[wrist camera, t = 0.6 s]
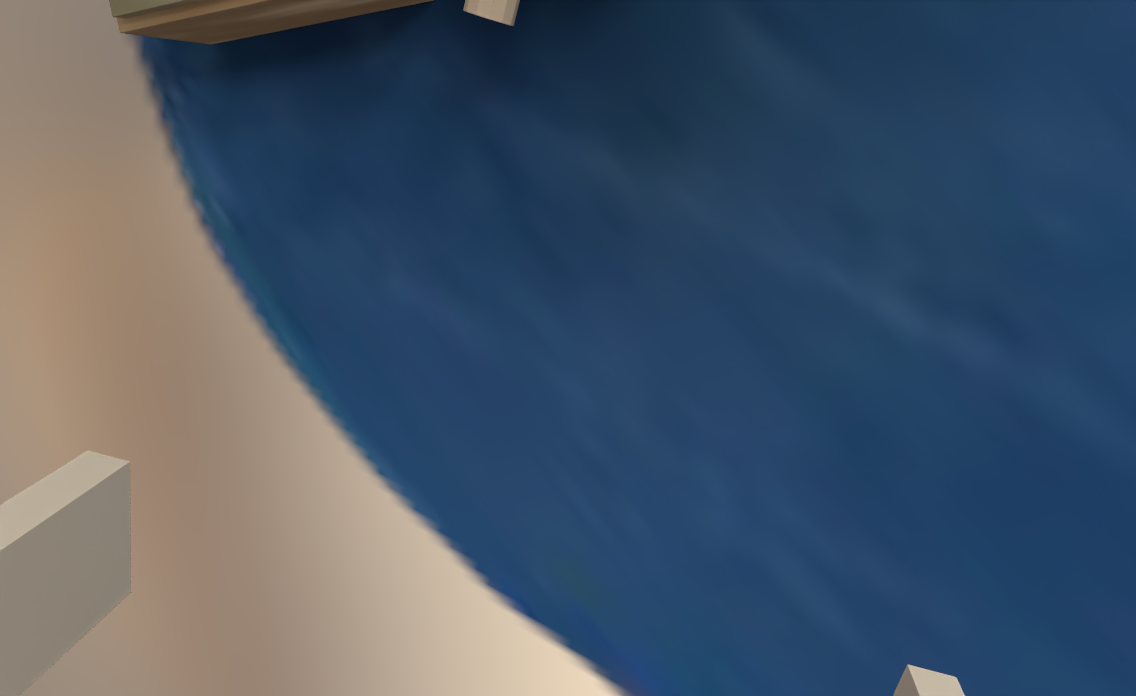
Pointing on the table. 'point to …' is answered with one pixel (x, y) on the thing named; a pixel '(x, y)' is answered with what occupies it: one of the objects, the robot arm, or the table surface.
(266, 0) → the lidded wooden box
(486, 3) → the pipe connector
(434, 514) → the table surface
